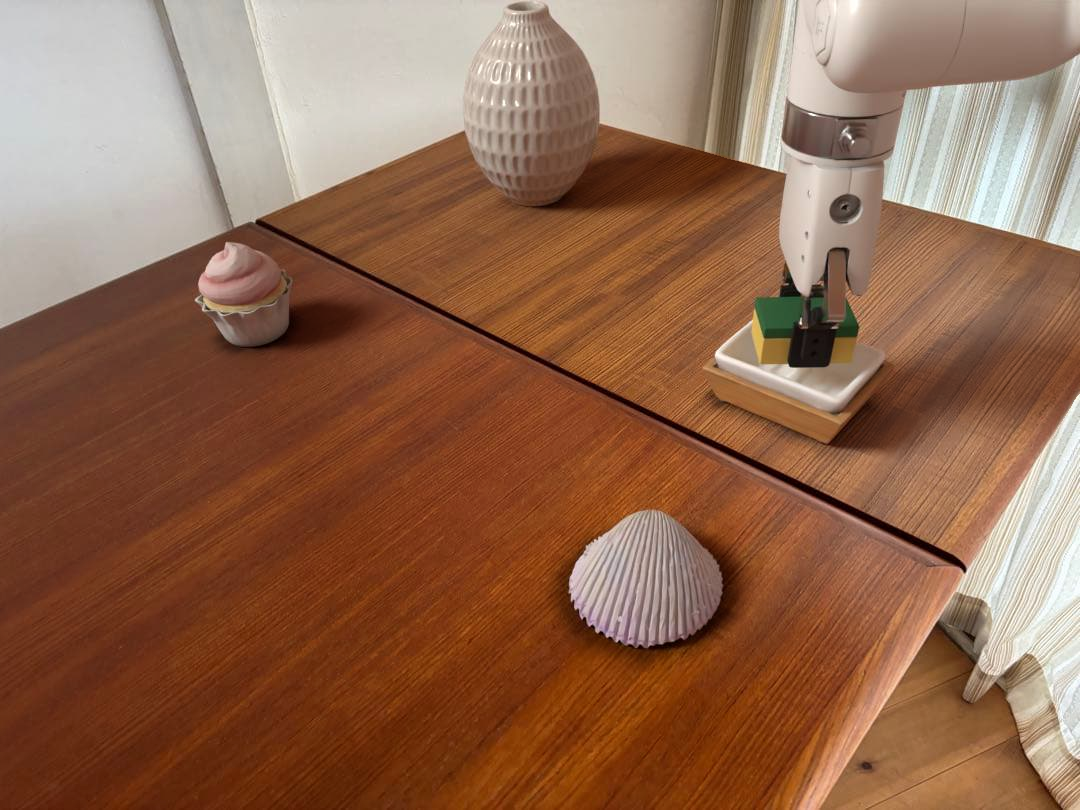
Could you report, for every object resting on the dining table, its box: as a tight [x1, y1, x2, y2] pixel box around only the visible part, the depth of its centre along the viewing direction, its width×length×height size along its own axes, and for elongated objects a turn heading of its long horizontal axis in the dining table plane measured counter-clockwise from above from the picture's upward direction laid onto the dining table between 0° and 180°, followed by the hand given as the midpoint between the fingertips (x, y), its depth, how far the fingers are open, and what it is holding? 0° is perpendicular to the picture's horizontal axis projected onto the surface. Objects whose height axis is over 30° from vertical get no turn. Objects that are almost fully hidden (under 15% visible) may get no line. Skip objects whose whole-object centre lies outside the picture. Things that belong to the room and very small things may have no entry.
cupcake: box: [194, 241, 293, 348], centre depth 82 cm, size 9×9×10 cm
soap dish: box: [702, 319, 896, 445], centre depth 71 cm, size 12×10×5 cm
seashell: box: [568, 509, 724, 649], centre depth 57 cm, size 10×6×10 cm
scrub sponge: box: [751, 296, 860, 364], centre depth 68 cm, size 7×5×4 cm, turn 88°
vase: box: [462, 0, 601, 207], centre depth 100 cm, size 16×16×22 cm
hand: (801, 344), depth 69 cm, fingers closed on scrub sponge, 4 cm apart
